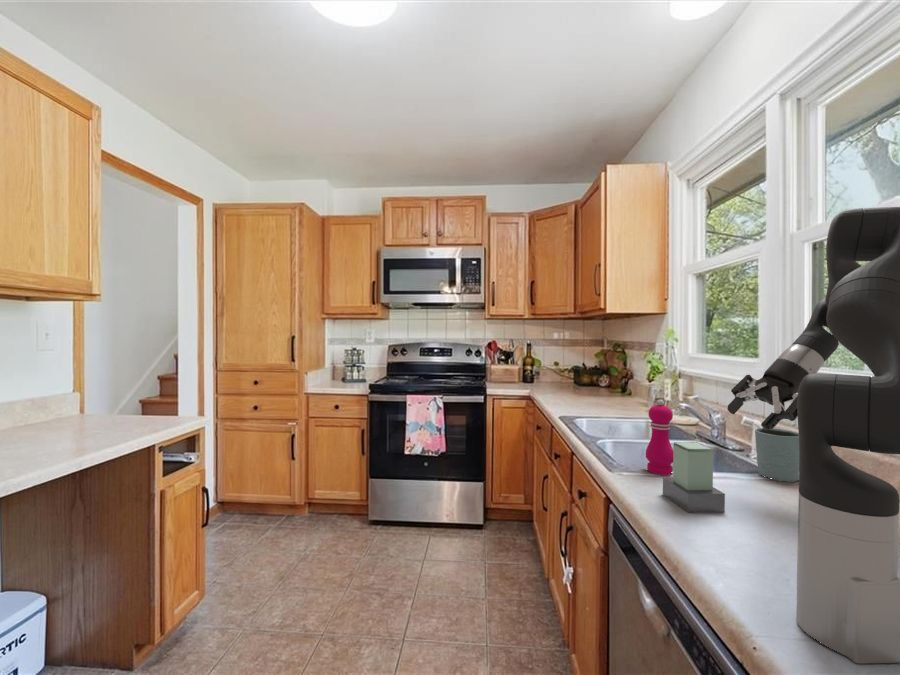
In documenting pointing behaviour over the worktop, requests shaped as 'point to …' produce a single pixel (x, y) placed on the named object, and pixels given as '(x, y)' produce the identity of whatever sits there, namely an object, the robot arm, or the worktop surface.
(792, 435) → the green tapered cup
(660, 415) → the pepper mill
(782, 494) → the worktop surface
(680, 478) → the tall mint pillar
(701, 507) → the grey step block
